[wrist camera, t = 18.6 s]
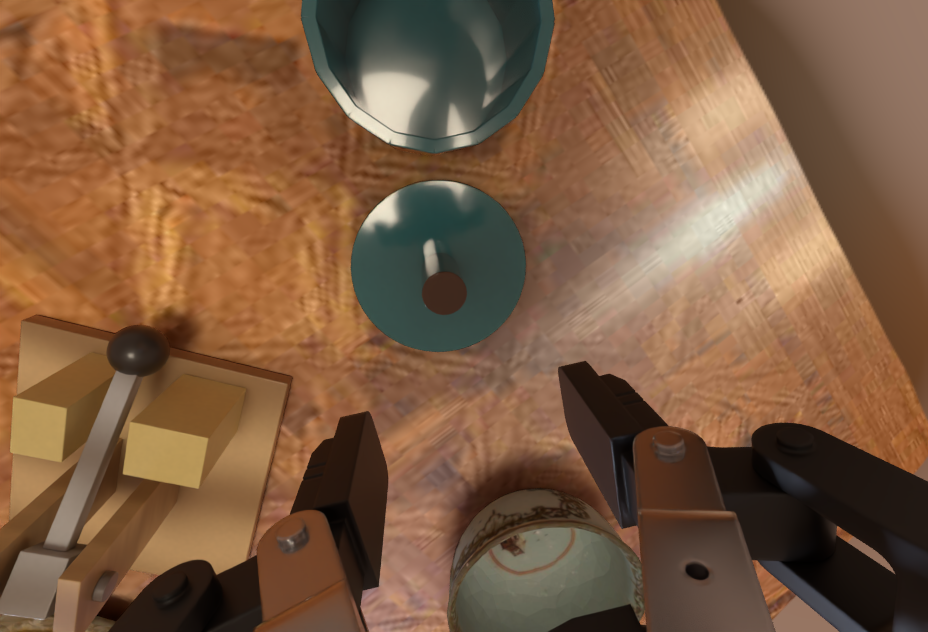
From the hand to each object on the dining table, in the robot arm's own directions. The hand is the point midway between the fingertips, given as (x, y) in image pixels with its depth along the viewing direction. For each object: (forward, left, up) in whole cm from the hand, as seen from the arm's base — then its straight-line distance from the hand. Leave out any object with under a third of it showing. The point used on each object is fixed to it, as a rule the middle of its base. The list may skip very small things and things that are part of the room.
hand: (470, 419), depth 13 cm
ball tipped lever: (+5, -21, -14) cm, 25 cm away
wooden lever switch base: (+9, -23, -19) cm, 31 cm away
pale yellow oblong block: (+5, -17, -18) cm, 25 cm away
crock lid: (0, 0, -19) cm, 19 cm away
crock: (-12, +2, -19) cm, 23 cm away
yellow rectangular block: (+2, -22, -18) cm, 29 cm away
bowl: (+22, +2, -20) cm, 30 cm away
